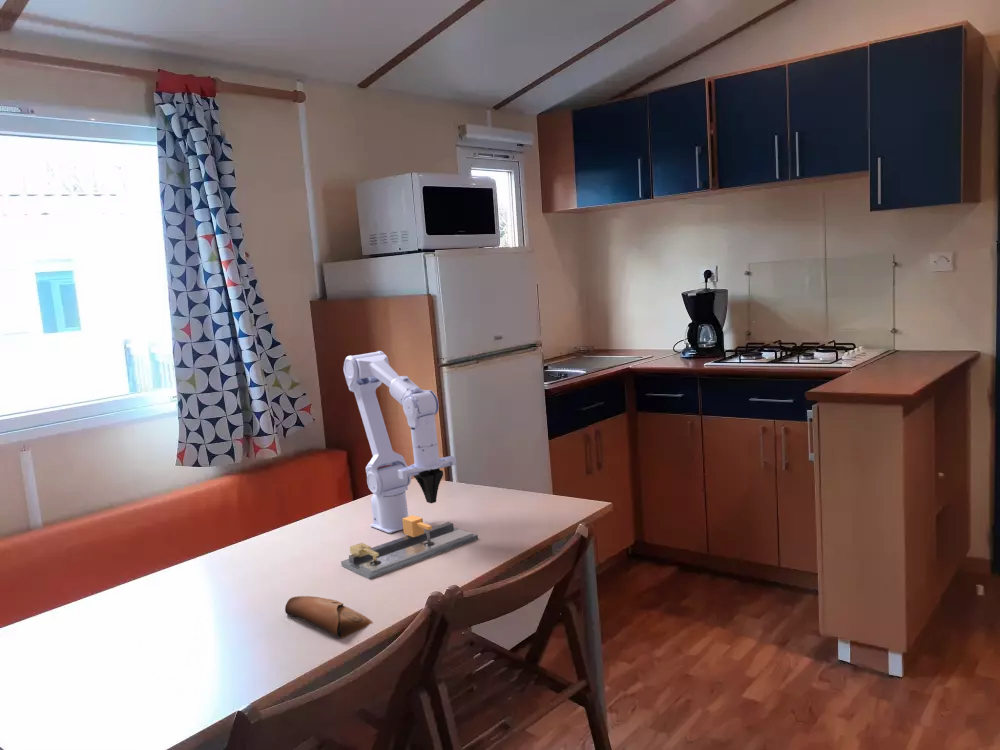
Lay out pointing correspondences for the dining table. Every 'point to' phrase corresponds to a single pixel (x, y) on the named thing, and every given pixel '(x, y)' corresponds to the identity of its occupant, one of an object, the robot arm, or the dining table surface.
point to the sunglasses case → (326, 615)
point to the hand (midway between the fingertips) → (431, 502)
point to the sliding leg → (415, 527)
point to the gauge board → (404, 550)
